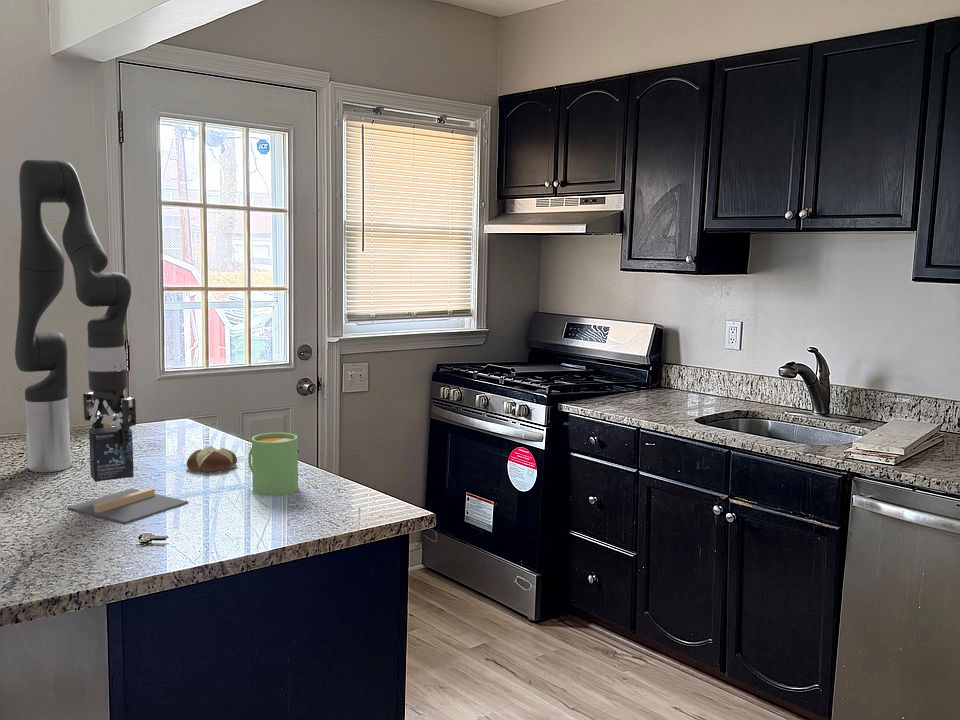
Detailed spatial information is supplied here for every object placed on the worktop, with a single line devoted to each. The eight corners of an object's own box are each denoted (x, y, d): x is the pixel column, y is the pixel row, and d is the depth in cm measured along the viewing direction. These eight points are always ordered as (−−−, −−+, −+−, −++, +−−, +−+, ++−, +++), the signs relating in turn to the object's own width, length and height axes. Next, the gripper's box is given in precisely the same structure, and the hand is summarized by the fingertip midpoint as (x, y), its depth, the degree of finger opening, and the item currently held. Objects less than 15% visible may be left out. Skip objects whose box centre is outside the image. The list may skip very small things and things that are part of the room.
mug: (308, 486, 199) (307, 435, 198) (279, 498, 190) (278, 444, 188) (264, 479, 205) (263, 429, 203) (234, 490, 195) (233, 438, 194)
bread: (179, 471, 211) (178, 451, 210) (211, 460, 221) (210, 441, 221) (215, 476, 207) (215, 456, 206) (246, 465, 217) (245, 446, 216)
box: (95, 482, 181) (92, 433, 180) (90, 476, 186) (88, 428, 185) (134, 477, 186) (132, 429, 184) (128, 471, 190) (126, 424, 189)
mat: (67, 508, 180) (66, 500, 180) (131, 490, 194) (131, 482, 194) (125, 523, 171) (124, 514, 171) (188, 503, 185) (187, 494, 185)
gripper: (69, 366, 183) (73, 442, 185) (114, 372, 176) (118, 451, 178) (100, 362, 189) (104, 436, 191) (145, 368, 182) (148, 444, 184)
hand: (110, 443), depth 185 cm, fingers closed on box, 7 cm apart
